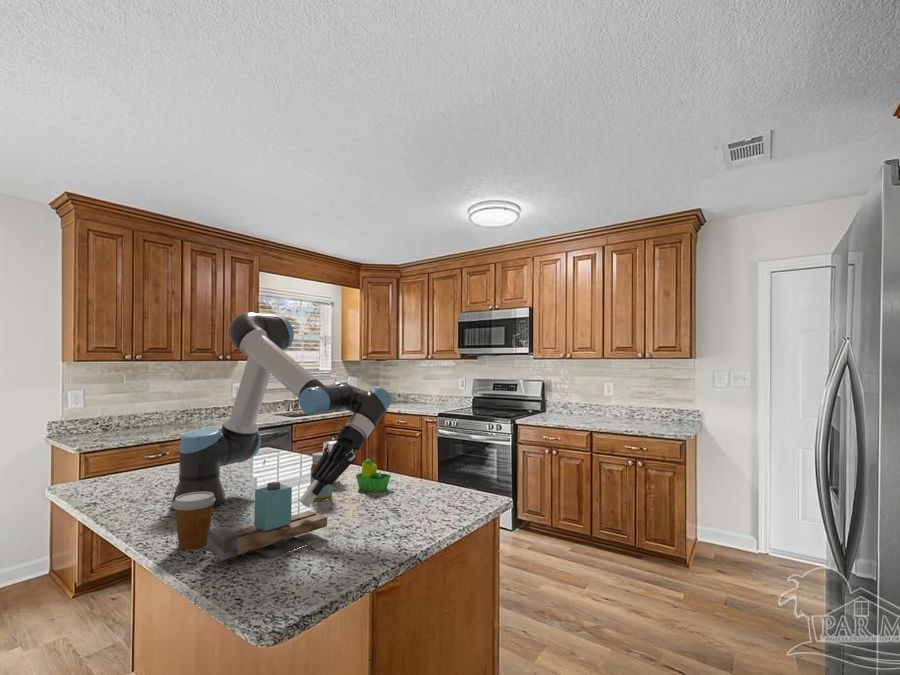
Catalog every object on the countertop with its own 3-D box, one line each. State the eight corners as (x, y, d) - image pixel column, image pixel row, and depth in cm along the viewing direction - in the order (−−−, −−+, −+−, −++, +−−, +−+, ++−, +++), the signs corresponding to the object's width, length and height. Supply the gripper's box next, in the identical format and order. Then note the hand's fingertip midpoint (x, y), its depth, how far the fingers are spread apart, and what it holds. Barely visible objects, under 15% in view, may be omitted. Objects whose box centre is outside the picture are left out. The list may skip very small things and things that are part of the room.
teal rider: (280, 527, 120) (281, 479, 121) (290, 531, 117) (291, 482, 118) (254, 534, 115) (255, 484, 116) (264, 539, 112) (265, 488, 112)
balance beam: (305, 527, 130) (305, 501, 130) (331, 538, 122) (331, 510, 123) (203, 558, 109) (204, 528, 110) (227, 573, 101) (228, 540, 102)
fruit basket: (392, 489, 170) (392, 457, 170) (375, 494, 162) (376, 461, 163) (368, 484, 176) (368, 454, 176) (351, 490, 168) (352, 458, 169)
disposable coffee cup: (182, 538, 122) (184, 491, 122) (220, 537, 123) (221, 490, 123) (163, 553, 112) (165, 502, 113) (204, 551, 113) (206, 501, 114)
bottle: (334, 495, 161) (335, 451, 161) (327, 502, 154) (328, 455, 154) (315, 495, 161) (315, 451, 162) (306, 501, 154) (307, 455, 155)
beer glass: (324, 484, 175) (325, 444, 176) (320, 480, 182) (321, 441, 182) (343, 482, 179) (343, 442, 179) (338, 478, 185) (339, 440, 186)
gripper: (376, 443, 134) (326, 517, 121) (348, 438, 143) (299, 506, 129) (362, 426, 130) (309, 500, 117) (334, 422, 139) (281, 491, 125)
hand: (303, 503), depth 123 cm, fingers closed
